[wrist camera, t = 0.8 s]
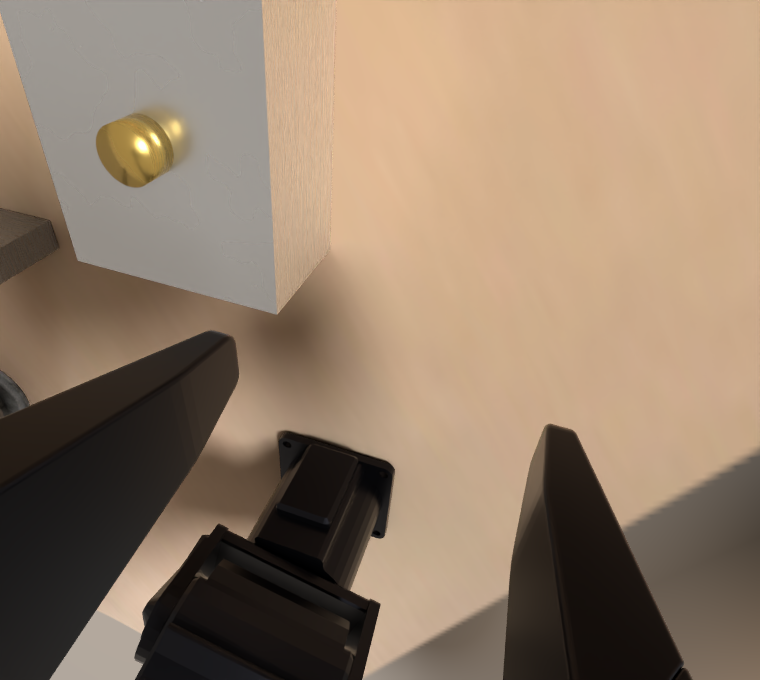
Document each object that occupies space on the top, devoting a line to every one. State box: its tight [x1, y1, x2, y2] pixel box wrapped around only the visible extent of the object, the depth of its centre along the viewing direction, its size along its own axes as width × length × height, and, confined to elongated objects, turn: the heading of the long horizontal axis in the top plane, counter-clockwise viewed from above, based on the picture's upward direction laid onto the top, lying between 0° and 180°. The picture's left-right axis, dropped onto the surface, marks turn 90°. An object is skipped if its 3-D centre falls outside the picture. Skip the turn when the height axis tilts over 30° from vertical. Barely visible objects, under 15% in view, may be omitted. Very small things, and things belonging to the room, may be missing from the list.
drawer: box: [0, 0, 337, 315], centre depth 18 cm, size 10×9×6 cm
